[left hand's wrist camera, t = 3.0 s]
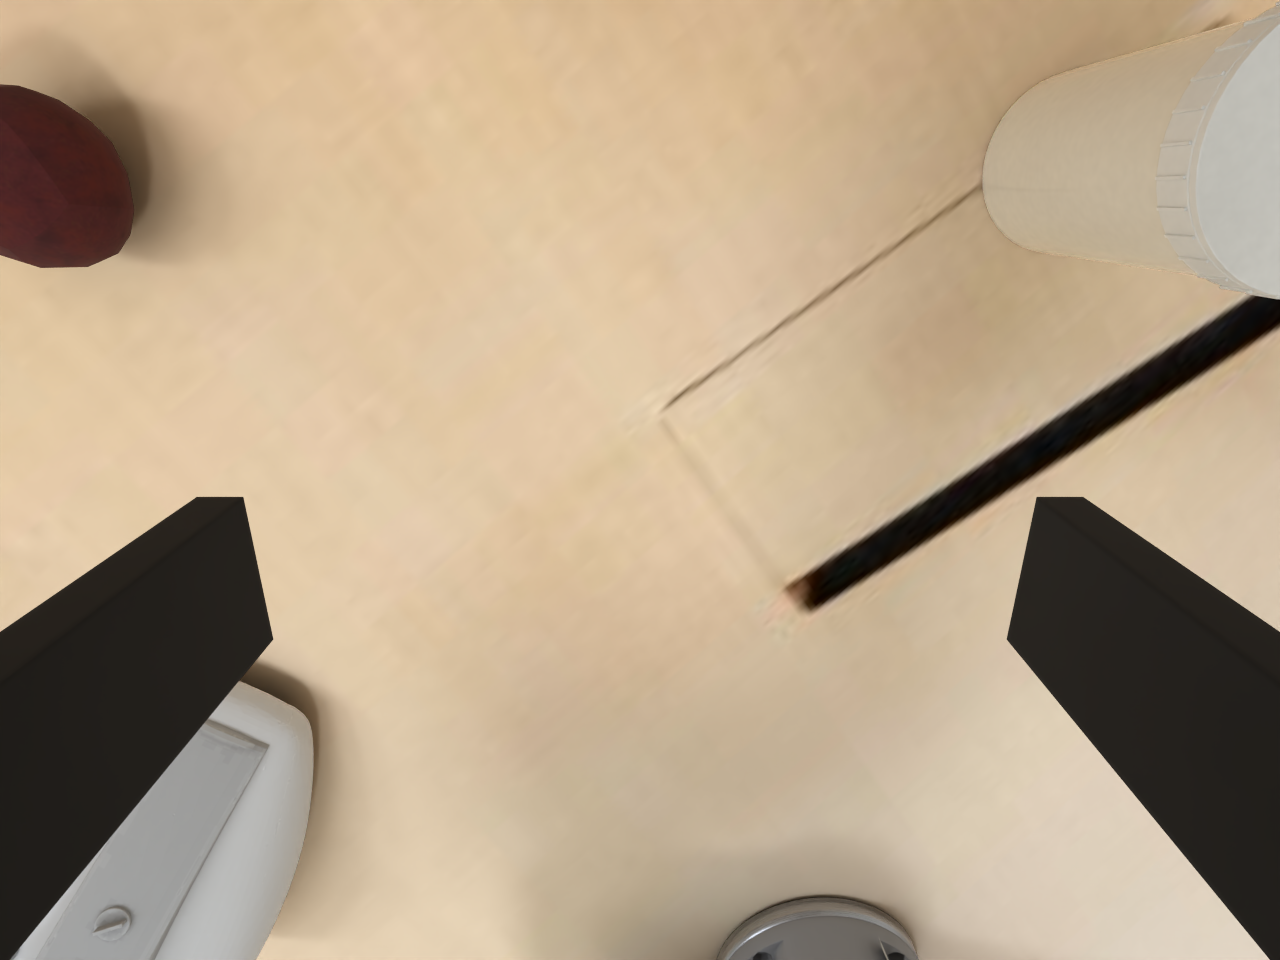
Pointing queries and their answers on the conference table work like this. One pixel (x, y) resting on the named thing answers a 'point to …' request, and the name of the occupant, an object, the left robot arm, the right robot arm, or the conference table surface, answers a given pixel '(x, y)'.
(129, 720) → the left robot arm
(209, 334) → the conference table surface
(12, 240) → the dark red ball
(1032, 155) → the jar
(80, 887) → the projector
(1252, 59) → the lid
